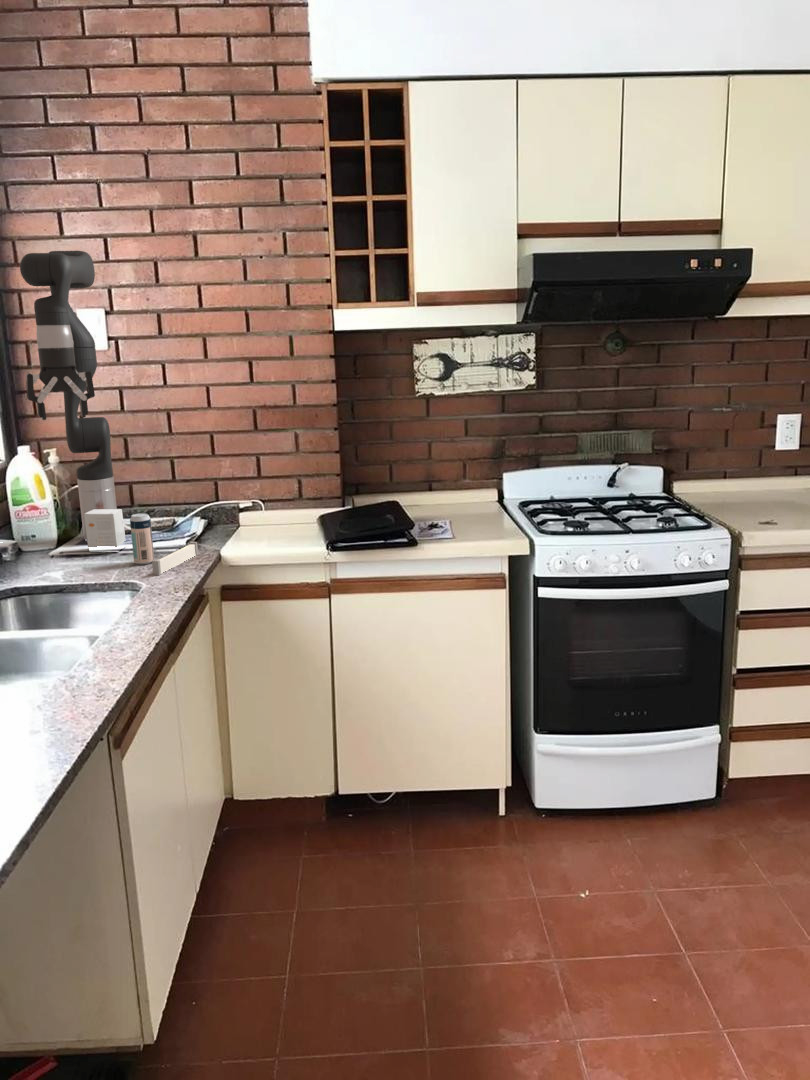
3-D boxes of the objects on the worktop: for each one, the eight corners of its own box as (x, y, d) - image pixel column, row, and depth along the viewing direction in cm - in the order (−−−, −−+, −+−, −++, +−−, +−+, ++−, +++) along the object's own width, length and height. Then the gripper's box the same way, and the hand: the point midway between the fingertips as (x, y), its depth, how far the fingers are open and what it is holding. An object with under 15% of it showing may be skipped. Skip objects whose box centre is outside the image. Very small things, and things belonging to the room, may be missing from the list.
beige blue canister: (158, 561, 210) (154, 513, 207) (145, 566, 206) (141, 517, 203) (143, 559, 212) (138, 512, 209) (129, 564, 208) (125, 516, 205)
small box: (126, 547, 223) (122, 508, 221) (117, 553, 218) (113, 513, 215) (97, 547, 224) (93, 508, 222) (87, 553, 219) (83, 513, 216)
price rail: (159, 575, 198) (157, 561, 197) (153, 574, 198) (151, 560, 197) (198, 555, 215) (197, 542, 214) (192, 554, 215) (191, 541, 215)
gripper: (85, 345, 198) (93, 415, 202) (19, 346, 191) (28, 419, 195) (91, 345, 192) (99, 417, 195) (23, 347, 185) (32, 421, 189)
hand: (63, 418), depth 195 cm, fingers open, 8 cm apart
